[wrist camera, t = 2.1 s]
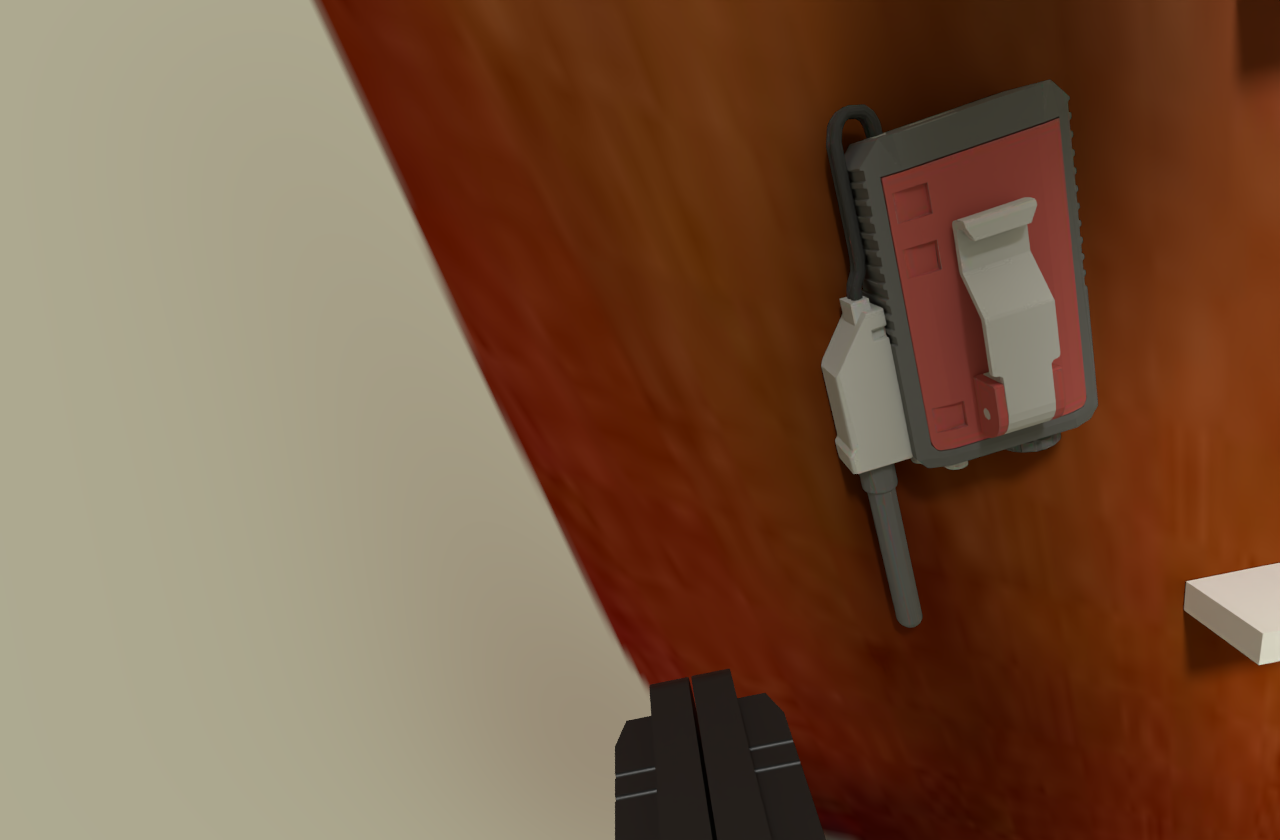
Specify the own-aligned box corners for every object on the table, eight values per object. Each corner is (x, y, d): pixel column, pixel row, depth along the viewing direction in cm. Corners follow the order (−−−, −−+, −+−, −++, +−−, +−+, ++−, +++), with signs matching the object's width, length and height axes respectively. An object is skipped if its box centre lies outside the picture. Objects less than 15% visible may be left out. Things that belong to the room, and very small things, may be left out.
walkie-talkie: (757, 137, 22) (873, 612, 28) (791, 124, 18) (917, 684, 24) (1016, 47, 21) (1074, 553, 28) (1114, 10, 17) (1156, 617, 23)
